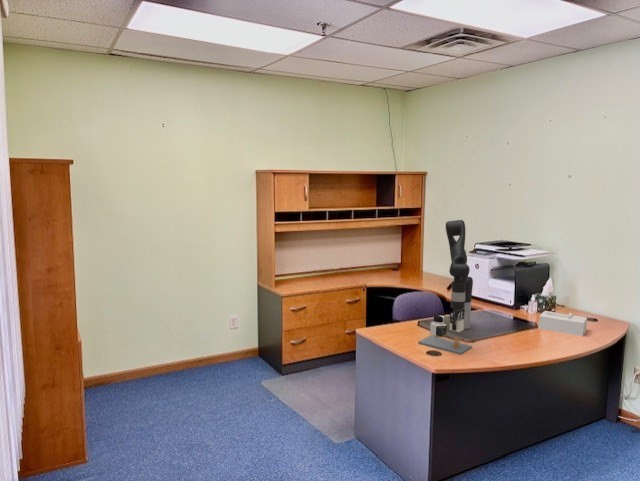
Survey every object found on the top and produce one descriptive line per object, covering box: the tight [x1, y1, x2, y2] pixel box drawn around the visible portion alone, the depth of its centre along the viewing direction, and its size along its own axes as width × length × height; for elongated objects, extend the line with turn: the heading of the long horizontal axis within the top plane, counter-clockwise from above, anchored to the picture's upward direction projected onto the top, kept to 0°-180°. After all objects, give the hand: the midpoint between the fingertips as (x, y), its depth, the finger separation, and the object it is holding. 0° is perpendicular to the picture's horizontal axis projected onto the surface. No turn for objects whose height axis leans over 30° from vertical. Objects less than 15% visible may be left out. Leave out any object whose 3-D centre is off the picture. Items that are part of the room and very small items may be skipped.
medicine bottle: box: [429, 314, 448, 338], centre depth 289 cm, size 7×7×12 cm
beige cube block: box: [449, 318, 465, 333], centre depth 265 cm, size 6×6×6 cm
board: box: [417, 335, 473, 355], centre depth 271 cm, size 14×26×6 cm, turn 48°
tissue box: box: [538, 310, 588, 337], centre depth 302 cm, size 14×25×11 cm, turn 53°
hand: (456, 329), depth 265 cm, fingers closed on beige cube block, 5 cm apart
